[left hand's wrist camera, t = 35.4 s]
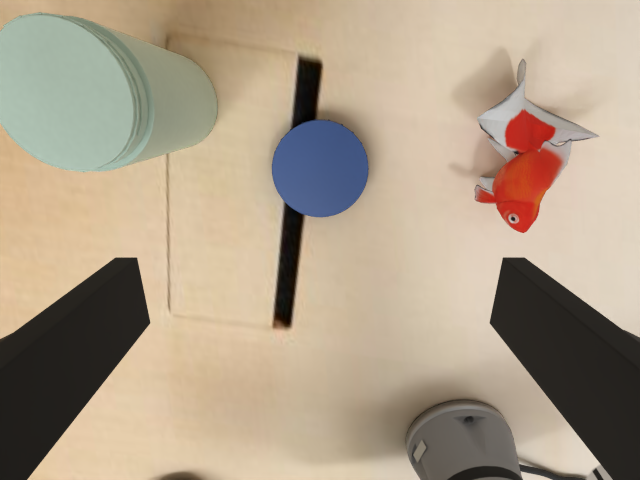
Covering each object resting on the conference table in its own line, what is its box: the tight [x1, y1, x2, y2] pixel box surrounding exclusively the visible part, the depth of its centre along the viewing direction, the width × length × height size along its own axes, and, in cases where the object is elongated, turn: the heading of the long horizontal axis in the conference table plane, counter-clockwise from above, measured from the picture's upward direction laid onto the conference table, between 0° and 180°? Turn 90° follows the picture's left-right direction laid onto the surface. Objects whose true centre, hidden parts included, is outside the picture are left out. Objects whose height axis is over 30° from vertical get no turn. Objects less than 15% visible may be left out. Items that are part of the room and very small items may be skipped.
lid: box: [272, 119, 369, 217], centre depth 37 cm, size 10×10×2 cm
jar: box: [0, 12, 218, 172], centre depth 28 cm, size 9×9×17 cm
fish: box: [475, 59, 599, 233], centre depth 34 cm, size 11×16×10 cm
